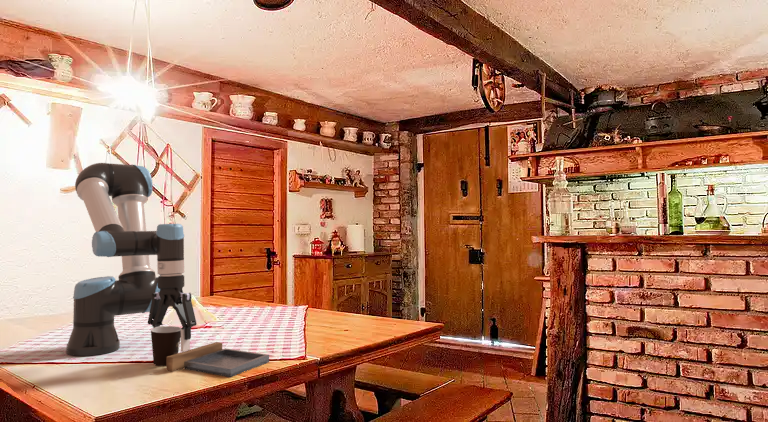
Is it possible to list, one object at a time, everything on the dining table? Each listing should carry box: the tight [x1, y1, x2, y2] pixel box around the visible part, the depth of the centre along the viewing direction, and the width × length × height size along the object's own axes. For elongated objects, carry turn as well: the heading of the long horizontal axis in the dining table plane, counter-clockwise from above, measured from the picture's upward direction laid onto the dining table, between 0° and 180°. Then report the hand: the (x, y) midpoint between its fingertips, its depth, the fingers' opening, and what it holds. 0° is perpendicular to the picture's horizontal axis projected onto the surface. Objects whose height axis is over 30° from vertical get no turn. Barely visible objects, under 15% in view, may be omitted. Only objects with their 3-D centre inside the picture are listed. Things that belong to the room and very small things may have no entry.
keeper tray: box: [183, 347, 270, 378], centre depth 155 cm, size 17×17×2 cm
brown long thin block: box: [165, 341, 223, 373], centre depth 158 cm, size 2×20×4 cm, turn 155°
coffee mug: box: [150, 325, 182, 367], centre depth 158 cm, size 12×9×10 cm
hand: (172, 349), depth 158 cm, fingers open, 10 cm apart
